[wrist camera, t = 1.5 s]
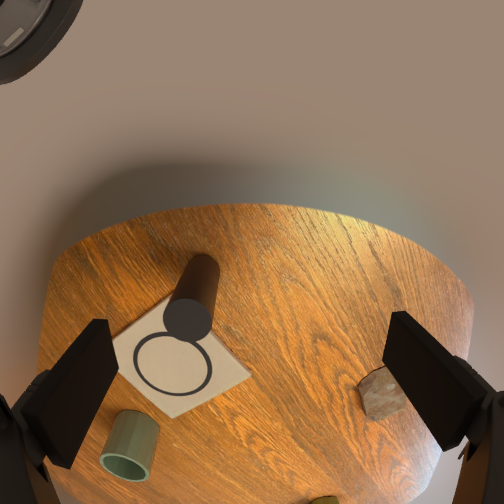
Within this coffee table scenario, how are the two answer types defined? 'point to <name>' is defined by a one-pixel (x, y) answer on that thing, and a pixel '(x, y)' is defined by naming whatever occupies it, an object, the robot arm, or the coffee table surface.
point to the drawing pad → (175, 364)
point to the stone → (381, 395)
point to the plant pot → (326, 500)
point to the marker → (193, 300)
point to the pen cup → (131, 446)
